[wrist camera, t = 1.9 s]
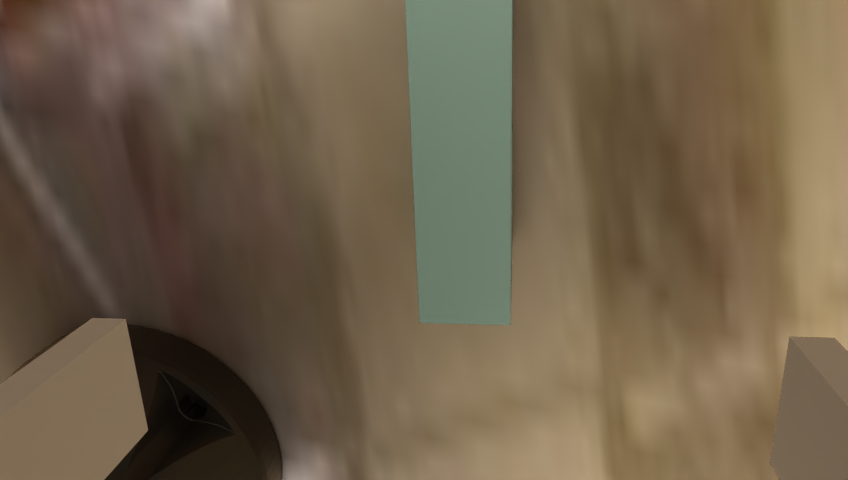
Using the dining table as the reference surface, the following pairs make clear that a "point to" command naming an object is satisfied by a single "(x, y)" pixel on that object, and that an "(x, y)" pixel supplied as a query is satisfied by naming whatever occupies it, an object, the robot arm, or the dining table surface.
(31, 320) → the dining table surface
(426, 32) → the teal green block
